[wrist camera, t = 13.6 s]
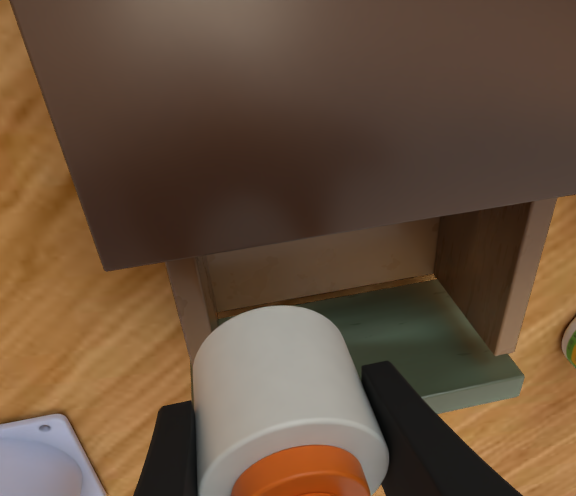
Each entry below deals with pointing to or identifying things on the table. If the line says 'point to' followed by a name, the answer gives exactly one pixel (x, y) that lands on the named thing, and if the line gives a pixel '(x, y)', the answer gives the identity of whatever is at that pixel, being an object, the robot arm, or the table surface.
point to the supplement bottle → (570, 343)
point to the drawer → (394, 295)
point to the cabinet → (300, 114)
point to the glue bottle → (283, 410)
